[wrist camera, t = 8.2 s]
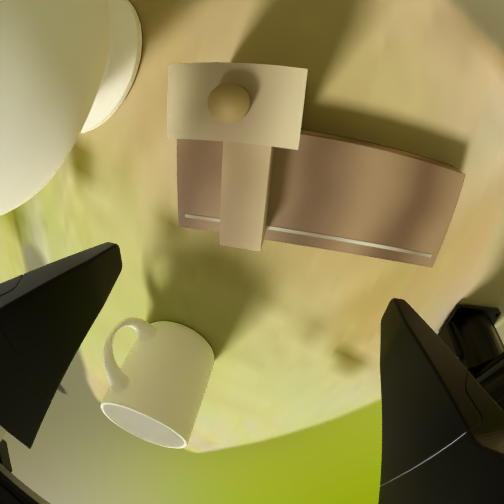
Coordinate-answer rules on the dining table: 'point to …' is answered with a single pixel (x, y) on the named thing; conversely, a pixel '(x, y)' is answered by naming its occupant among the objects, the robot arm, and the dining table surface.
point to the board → (334, 196)
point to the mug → (158, 381)
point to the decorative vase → (58, 82)
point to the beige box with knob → (239, 132)
